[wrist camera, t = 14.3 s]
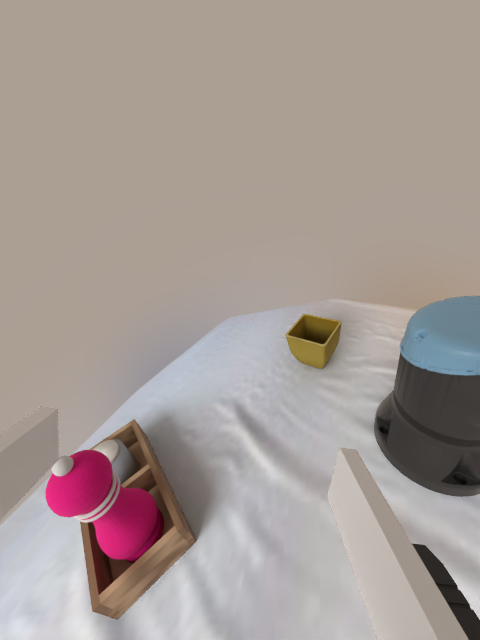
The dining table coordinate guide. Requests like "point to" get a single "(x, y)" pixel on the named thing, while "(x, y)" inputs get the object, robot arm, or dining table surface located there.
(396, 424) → the robot arm
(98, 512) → the pepper mill
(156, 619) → the dining table surface
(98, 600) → the caddy
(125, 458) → the salt jar
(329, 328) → the flower pot
